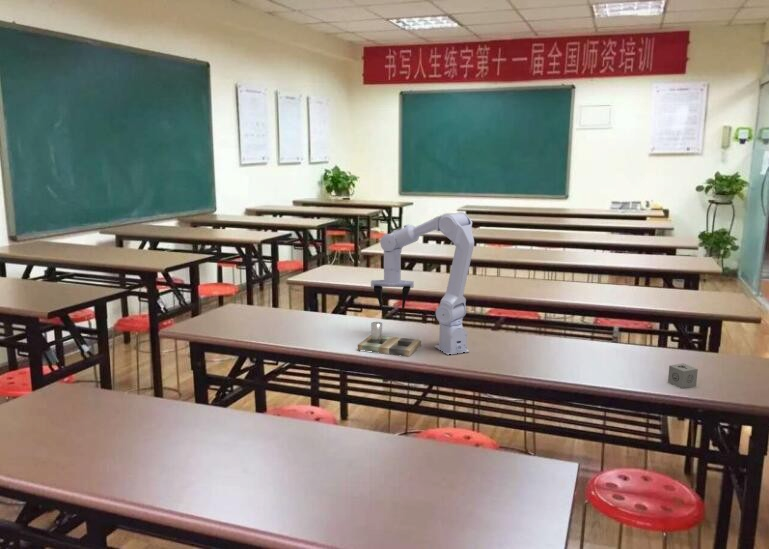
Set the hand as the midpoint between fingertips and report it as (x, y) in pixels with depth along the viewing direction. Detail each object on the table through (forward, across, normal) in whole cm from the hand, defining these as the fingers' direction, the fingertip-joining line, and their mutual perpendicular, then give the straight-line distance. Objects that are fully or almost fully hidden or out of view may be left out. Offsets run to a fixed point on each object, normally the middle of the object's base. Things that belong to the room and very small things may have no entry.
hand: (392, 307), depth 215 cm
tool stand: (+10, 0, -13) cm, 16 cm away
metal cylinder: (+10, -4, -12) cm, 16 cm away
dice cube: (+11, +84, -36) cm, 92 cm away
